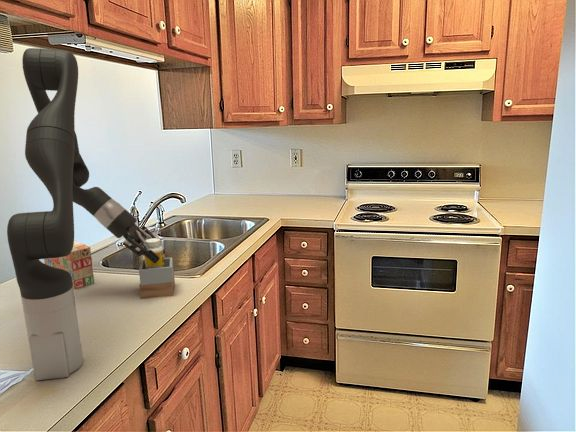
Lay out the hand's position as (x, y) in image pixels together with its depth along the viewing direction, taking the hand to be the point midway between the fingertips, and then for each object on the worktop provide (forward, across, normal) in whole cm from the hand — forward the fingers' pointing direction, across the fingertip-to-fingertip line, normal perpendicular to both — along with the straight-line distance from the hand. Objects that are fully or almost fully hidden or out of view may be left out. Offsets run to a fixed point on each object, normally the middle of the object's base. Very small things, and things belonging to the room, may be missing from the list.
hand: (160, 257), depth 127 cm
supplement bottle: (+2, 0, +4) cm, 5 cm away
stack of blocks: (-16, +11, +32) cm, 37 cm away
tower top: (+4, 0, +5) cm, 6 cm away
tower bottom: (+7, 0, +9) cm, 11 cm away
